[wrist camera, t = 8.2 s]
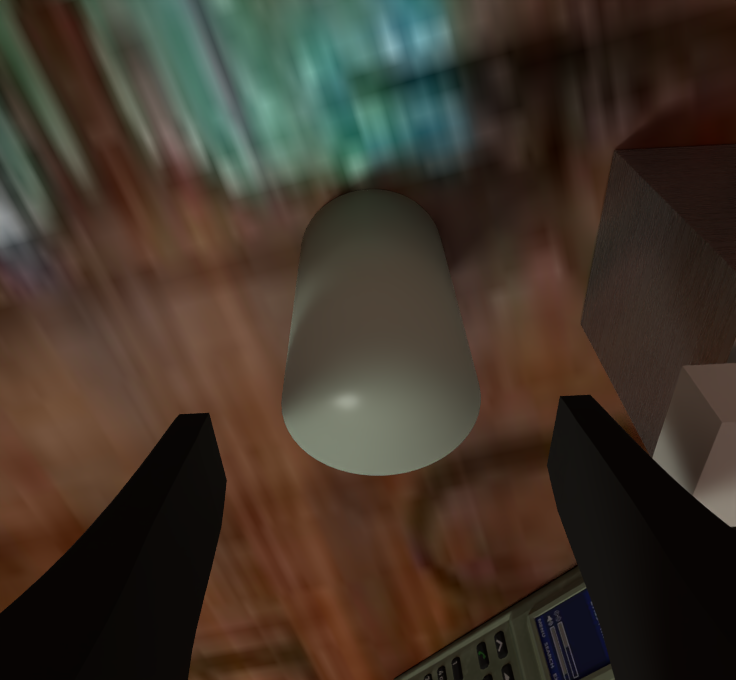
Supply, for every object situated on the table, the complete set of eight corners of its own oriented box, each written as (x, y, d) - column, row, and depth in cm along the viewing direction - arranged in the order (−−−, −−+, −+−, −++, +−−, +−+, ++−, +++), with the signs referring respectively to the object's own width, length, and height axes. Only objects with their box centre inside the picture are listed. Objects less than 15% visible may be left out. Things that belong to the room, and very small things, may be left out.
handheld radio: (383, 673, 36) (785, 419, 24) (426, 687, 37) (825, 452, 26) (393, 814, 30) (913, 573, 19) (443, 824, 32) (954, 604, 21)
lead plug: (307, 317, 21) (293, 479, 15) (293, 192, 18) (268, 332, 13) (439, 311, 21) (474, 470, 15) (444, 185, 18) (487, 321, 12)
